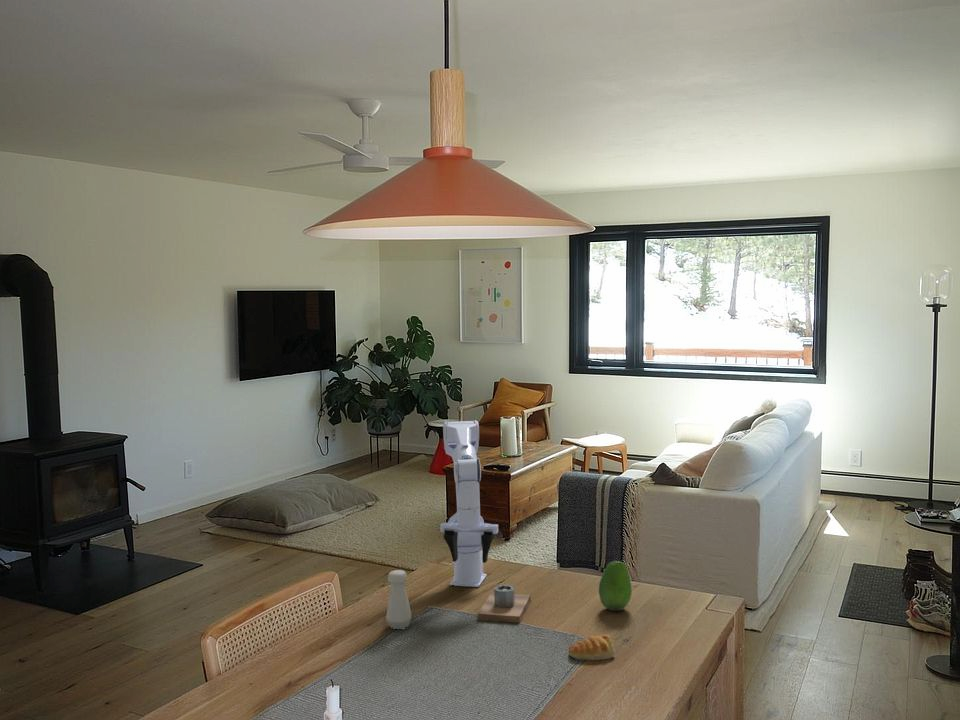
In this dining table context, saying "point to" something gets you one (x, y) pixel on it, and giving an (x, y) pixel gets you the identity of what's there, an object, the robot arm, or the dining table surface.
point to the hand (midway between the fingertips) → (470, 561)
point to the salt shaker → (398, 601)
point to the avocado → (615, 586)
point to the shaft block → (504, 609)
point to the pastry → (593, 648)
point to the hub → (504, 596)
